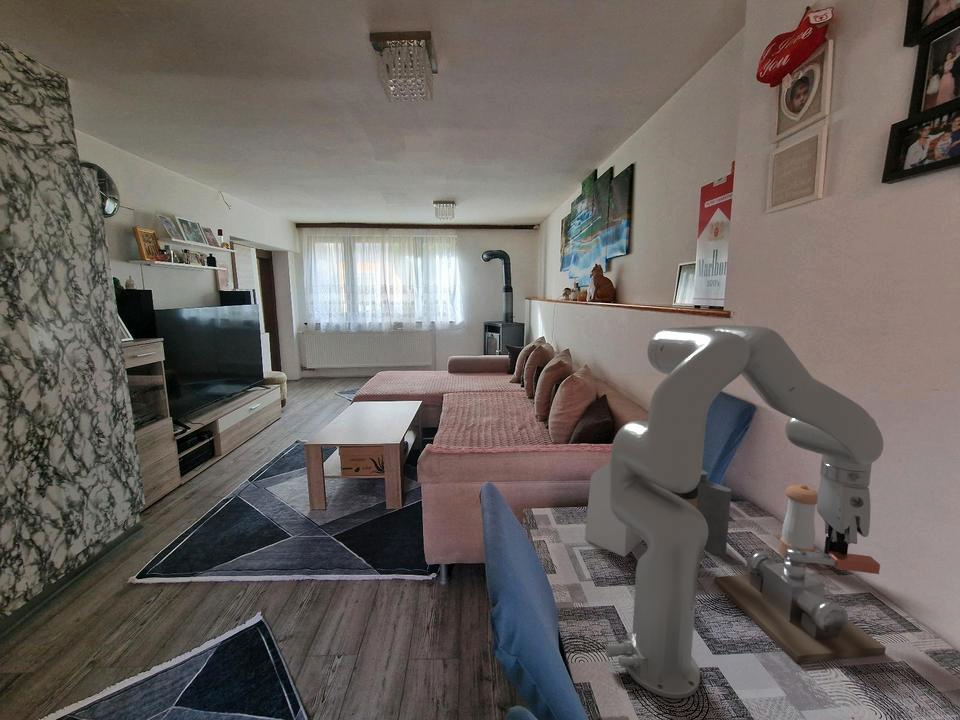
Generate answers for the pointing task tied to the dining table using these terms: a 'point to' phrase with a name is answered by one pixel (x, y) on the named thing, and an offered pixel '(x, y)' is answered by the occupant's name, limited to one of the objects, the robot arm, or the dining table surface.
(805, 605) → the valve body
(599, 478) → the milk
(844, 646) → the walnut board
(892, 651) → the dining table surface
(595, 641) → the dining table surface
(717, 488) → the hip flask
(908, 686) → the dining table surface
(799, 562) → the lever
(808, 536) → the salt shaker
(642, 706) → the dining table surface
